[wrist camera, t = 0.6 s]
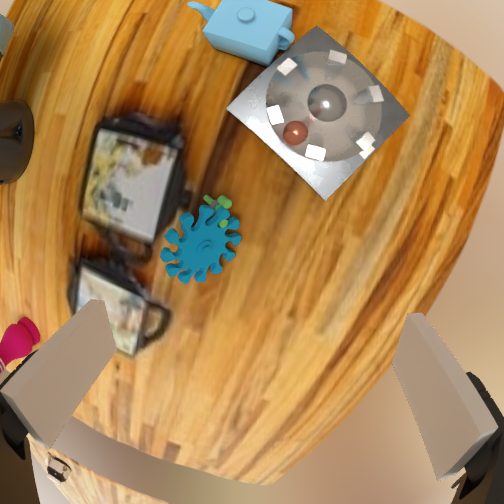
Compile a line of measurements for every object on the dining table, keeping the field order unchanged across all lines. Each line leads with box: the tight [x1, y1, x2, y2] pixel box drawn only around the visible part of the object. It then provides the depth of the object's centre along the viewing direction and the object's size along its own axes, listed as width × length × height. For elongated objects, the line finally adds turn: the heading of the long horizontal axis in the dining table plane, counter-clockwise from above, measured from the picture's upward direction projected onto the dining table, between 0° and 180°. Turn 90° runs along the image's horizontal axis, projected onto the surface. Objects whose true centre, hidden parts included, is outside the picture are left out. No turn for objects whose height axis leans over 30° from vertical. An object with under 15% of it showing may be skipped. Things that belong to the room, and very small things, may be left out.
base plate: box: [226, 26, 410, 200], centre depth 28 cm, size 15×15×2 cm
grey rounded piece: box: [266, 50, 384, 162], centre depth 24 cm, size 12×12×8 cm
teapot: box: [187, 0, 295, 67], centre depth 23 cm, size 12×6×8 cm, turn 65°
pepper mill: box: [0, 318, 40, 374], centre depth 36 cm, size 7×7×20 cm
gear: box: [160, 195, 241, 284], centre depth 33 cm, size 11×6×10 cm
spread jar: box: [45, 453, 70, 485], centre depth 69 cm, size 12×11×12 cm
